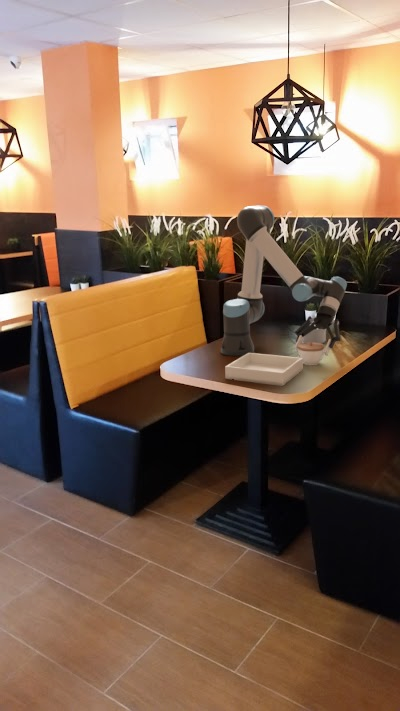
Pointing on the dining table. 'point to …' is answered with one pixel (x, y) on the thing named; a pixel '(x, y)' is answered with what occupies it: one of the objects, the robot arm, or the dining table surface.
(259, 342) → the dining table surface
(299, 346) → the lidded jar
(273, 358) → the cream square tray
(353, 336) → the dining table surface
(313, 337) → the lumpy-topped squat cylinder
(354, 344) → the dining table surface
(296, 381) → the dining table surface
